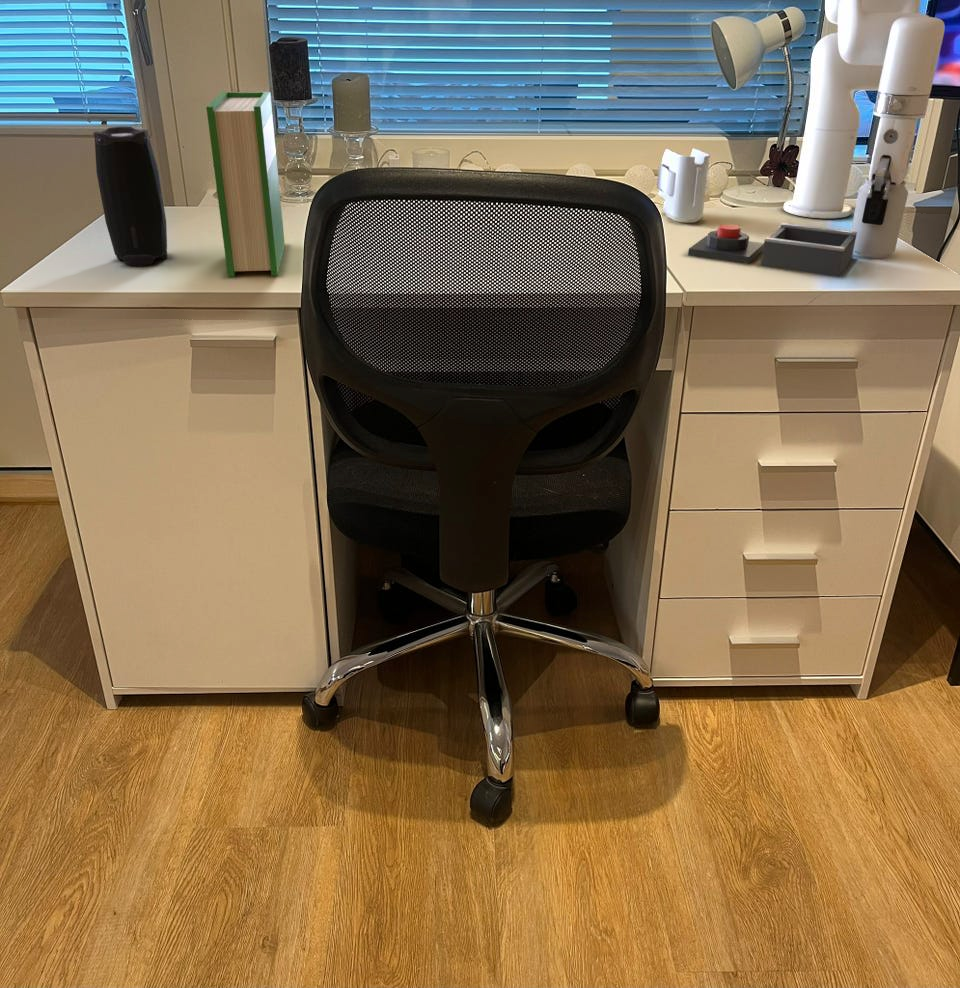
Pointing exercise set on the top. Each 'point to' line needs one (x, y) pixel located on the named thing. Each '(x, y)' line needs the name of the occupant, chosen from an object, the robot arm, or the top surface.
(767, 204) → the top surface
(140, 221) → the portable speaker
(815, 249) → the grey open tray
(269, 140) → the hardback book
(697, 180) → the cable organizer
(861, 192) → the can
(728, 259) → the control block
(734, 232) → the release button
